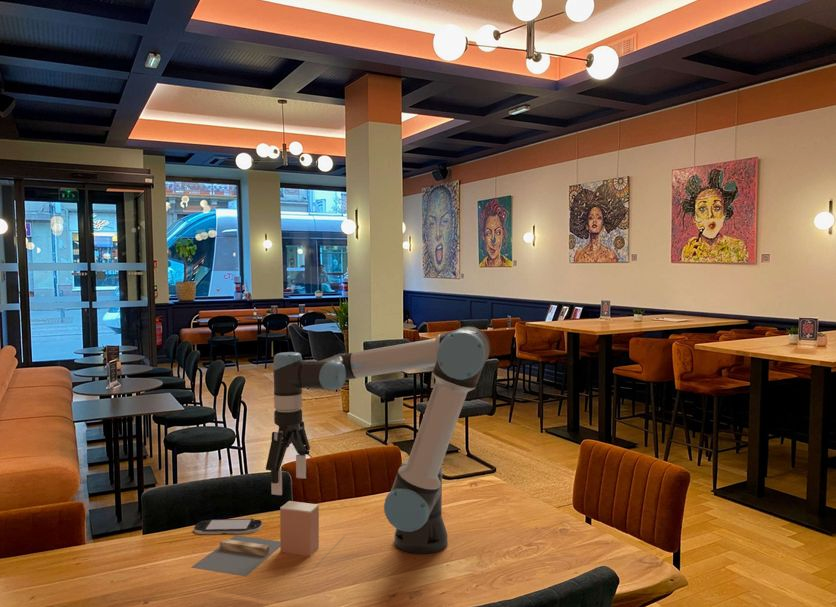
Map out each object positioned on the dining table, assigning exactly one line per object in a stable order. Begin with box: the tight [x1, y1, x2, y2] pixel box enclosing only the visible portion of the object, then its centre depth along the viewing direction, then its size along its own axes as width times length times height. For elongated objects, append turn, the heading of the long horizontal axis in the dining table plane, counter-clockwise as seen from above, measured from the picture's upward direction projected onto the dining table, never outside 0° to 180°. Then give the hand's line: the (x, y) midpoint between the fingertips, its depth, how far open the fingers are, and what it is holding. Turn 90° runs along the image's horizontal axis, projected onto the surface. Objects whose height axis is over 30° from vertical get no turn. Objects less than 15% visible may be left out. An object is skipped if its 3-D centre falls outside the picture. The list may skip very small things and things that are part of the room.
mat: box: [191, 534, 280, 577], centre depth 161 cm, size 16×20×1 cm
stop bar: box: [219, 538, 269, 556], centre depth 163 cm, size 14×2×2 cm, turn 74°
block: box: [279, 500, 320, 557], centre depth 163 cm, size 9×5×13 cm, turn 74°
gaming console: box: [193, 518, 263, 535], centre depth 178 cm, size 19×9×2 cm, turn 93°
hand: (289, 485), depth 164 cm, fingers open, 13 cm apart
